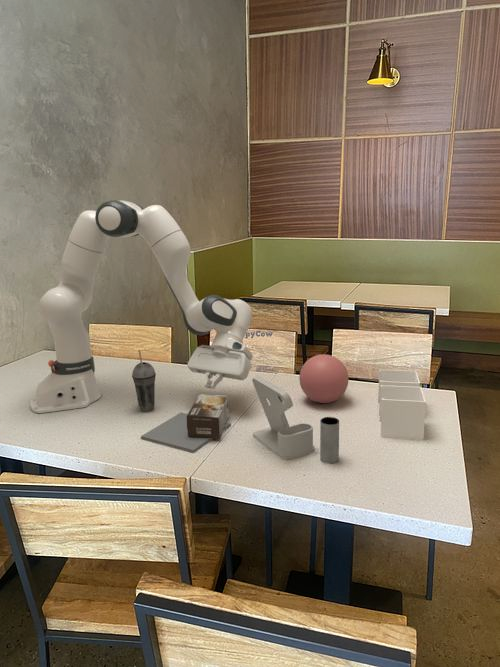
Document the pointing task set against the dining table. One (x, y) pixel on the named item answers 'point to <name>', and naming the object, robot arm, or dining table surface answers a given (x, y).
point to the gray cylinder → (329, 439)
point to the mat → (177, 434)
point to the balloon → (323, 378)
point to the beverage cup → (144, 385)
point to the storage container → (401, 405)
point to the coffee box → (208, 416)
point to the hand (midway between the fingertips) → (209, 387)
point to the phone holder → (281, 423)
